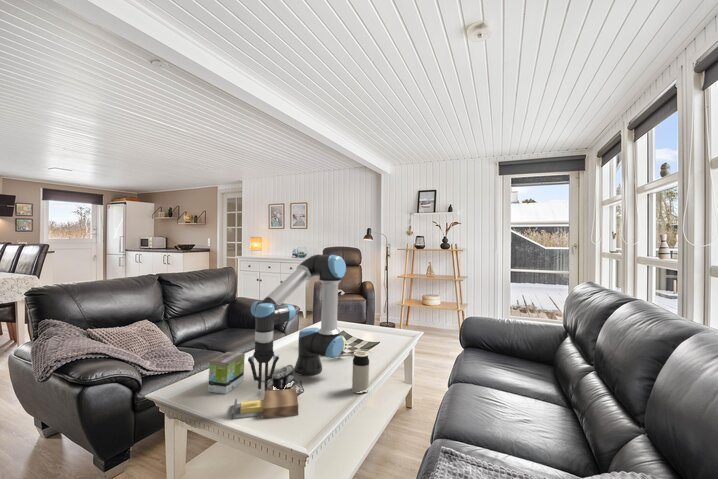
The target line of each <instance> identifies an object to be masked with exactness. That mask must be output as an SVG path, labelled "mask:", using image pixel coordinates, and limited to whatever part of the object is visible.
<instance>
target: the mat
mask: <svg viewBox="0 0 718 479" xmlns="http://www.w3.org/2000/svg"><path fill="white" fill-rule="evenodd" d="M241 403H242V402H241ZM241 403H238V399H237V398H235V399H234V403H233V406H232V411H231V420H238V419H249V418H254V417H255V418H256V417H257V418H258V417H263V412H253V413H243V414H240V409H241Z"/></svg>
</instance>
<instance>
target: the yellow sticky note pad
mask: <svg viewBox="0 0 718 479" xmlns="http://www.w3.org/2000/svg"><path fill="white" fill-rule="evenodd" d="M263 403H264V399H261V400H249V401H241V409H240V414H243V413H253V412H263Z"/></svg>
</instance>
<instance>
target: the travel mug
mask: <svg viewBox="0 0 718 479" xmlns="http://www.w3.org/2000/svg"><path fill="white" fill-rule="evenodd" d="M369 355H370V353H369V352H368V351H365V350H357V351H354V352H353V356H354V357H353V358H352V378H351V380H352V383H351V384H352V385H351V387H352V388H351V390H353V391H355V392H360V391H363V390H366V389H367V388H368V387H369V386H370V385H369V383H370V382H369V381H370V359H369ZM369 388H370V387H369ZM353 391H352V392H353ZM355 392H354V393H355Z"/></svg>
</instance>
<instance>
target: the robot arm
mask: <svg viewBox="0 0 718 479" xmlns="http://www.w3.org/2000/svg"><path fill="white" fill-rule="evenodd" d="M346 272H347V265H346V262H345V260H344V259H343V257H341V256H339V255H335V254H313V255H312V256H310V257H308V258H306V259H305V260H303V261H302V262H300V263H299V264H298V265H297V266H296V270H294V271H293V272H292V273H291V274H290V275H288V277H287V278H286V279H284V280H283V281H282V282H281V283H280V284H279V285H278V286H277V287H276V288H274V289H273V291H272V292H270V293H269V294H268V295H267V296H266V297H264V298H263V299H261V300H257V301H254V302H253V303H252V304H251V306H250V313H251V315H252V316H253V317H255V330H254V332H255V333H254V340H255V341H254V352H253V355H251V356H248V359H247V361H248V363H249V365H250V368H251V373H252V378H253V381H254V382H257V384H258V385H257V388H258V390H260V398H262V399H264V395H265V391H266V389H268V388H269V387H268V386H269V385H268V383H269V382H268V381H270V380H273V376H274V374H275V373H274V372H275V369H276V367H277V366H276V365H277V363H278V361H279V359H280V355H279V354H275V351H274V333H275V332H274V330H275V328H274V326H275V325H278V324H281V323H283V324H284V323H288V322H289V321H293V320H294V318H296V308H295V307H294V305H292V304H290V303H287V304H283V303H284V302H285V301H286V300H287V299H288V298H289V297H290V296H291V295H292V294H293V293H294V292H295V291H296V290H297V289H299V287H300V286H301V285H302V284H304V283H305V282H306V281H309V280H310V279H311V278H313V277H317V276H318V278H319V281H320V283H321V309H320V310H321V312H320V313H321V315H320V318H321V319H320V327H307V328H303V329H301V330H299V332H298V344H297V345H298V353H297V354H298V355H297V359H296V362H295V365H294V372H295V374H297V375H300V376H308V377H309V376H314V375H315V374H316V375H318V374H317V373H319V372H320V373H322V371H323V364H322V360H321V357H324V358H327V359H336V358H338V357H339V356H340V355H341V354H342V352H343V350H344V345H345V339H344V337H342V336H341V333H340V330H339V329H338V311H339V310H338V306H339V305H338V303H339V296H338V295H339V284H340V282H341V281H342V278H343V277H344V276H345V274H346ZM320 356H321V357H320ZM255 360H256V362H257V363H258V375H257V371H256V366H255V362H254V361H255ZM271 360H272V365H271V368H270V373H269V362H270V361H271ZM263 364H264V379H262V375H263V374H262V373H263V370H262V369H263ZM320 373H319V374H320Z"/></svg>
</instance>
